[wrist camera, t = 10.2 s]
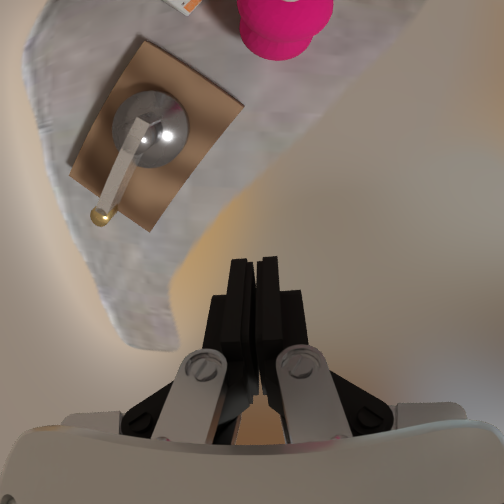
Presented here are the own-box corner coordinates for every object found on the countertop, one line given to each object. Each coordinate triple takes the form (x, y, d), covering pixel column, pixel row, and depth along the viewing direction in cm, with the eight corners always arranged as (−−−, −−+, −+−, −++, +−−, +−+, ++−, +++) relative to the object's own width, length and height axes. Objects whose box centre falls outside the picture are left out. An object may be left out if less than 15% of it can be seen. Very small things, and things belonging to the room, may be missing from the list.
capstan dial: (138, 77, 28) (118, 79, 24) (204, 114, 31) (195, 121, 26) (87, 189, 36) (66, 206, 31) (142, 222, 38) (127, 244, 34)
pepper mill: (230, 44, 28) (192, 8, 12) (261, -5, 25) (262, -85, 8) (287, 73, 30) (318, 69, 13) (318, 25, 27) (382, -24, 10)
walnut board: (150, 42, 28) (144, 40, 26) (244, 105, 32) (243, 107, 31) (75, 171, 37) (68, 176, 35) (153, 226, 41) (149, 233, 39)
